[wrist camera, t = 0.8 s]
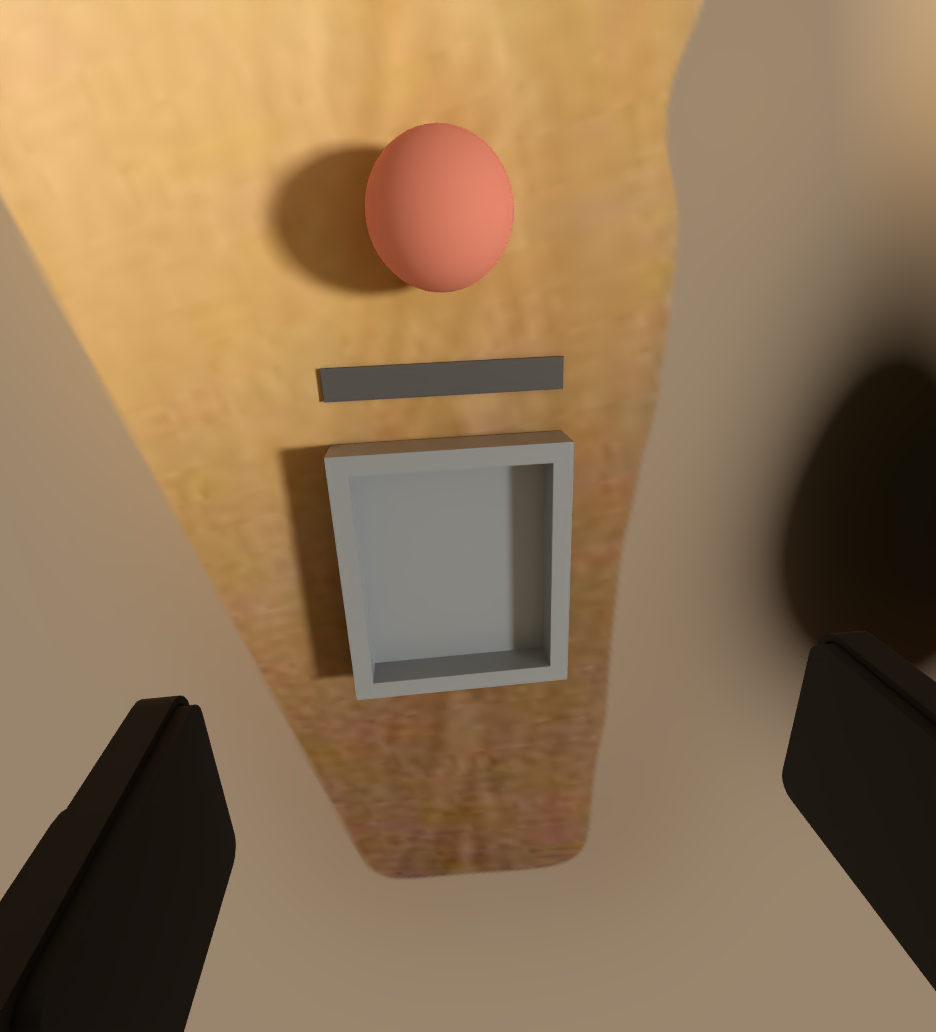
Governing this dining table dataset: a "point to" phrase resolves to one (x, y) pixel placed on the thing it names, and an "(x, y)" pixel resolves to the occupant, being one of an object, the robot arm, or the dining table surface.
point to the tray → (454, 560)
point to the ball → (439, 207)
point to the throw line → (441, 378)
